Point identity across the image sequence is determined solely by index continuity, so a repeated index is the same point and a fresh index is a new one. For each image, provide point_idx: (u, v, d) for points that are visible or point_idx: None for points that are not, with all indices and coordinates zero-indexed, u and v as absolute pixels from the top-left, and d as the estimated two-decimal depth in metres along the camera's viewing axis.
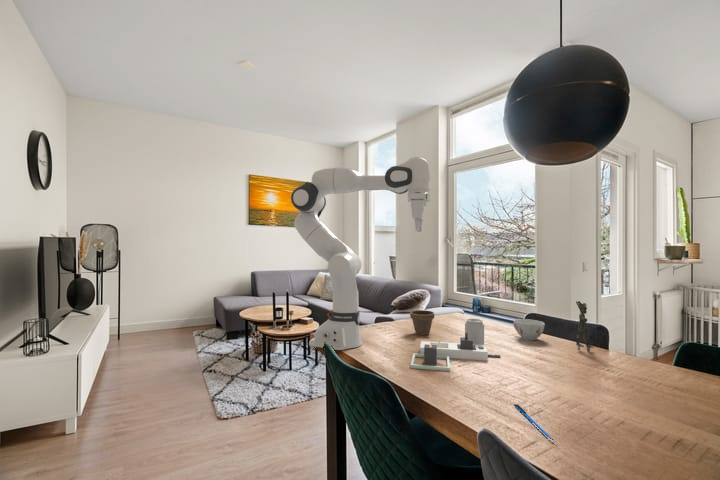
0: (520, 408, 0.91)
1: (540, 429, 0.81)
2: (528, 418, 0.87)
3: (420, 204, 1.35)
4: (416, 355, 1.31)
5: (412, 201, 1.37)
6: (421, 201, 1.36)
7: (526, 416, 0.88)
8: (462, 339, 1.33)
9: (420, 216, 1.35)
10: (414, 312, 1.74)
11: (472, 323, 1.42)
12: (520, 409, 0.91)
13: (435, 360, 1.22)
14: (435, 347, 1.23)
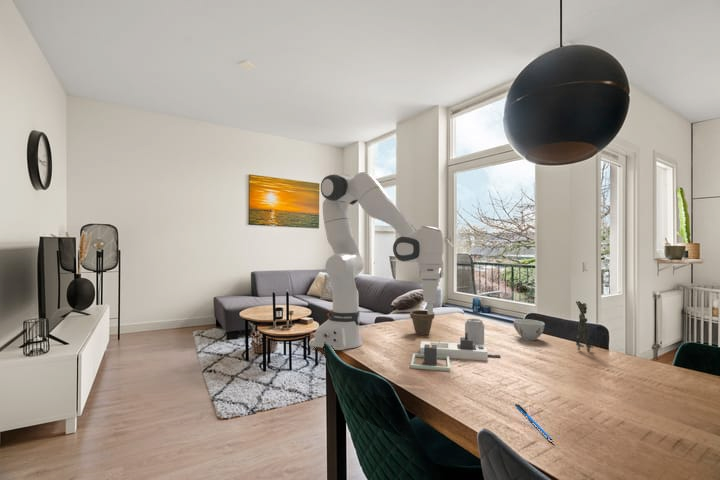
0: (521, 408, 0.91)
1: (540, 429, 0.81)
2: (528, 418, 0.87)
3: (433, 286, 1.15)
4: (416, 355, 1.31)
5: (424, 282, 1.17)
6: (434, 282, 1.16)
7: (527, 416, 0.88)
8: (462, 339, 1.33)
9: (433, 300, 1.15)
10: (414, 312, 1.74)
11: (472, 323, 1.42)
12: (521, 409, 0.91)
13: (435, 360, 1.22)
14: (435, 347, 1.23)
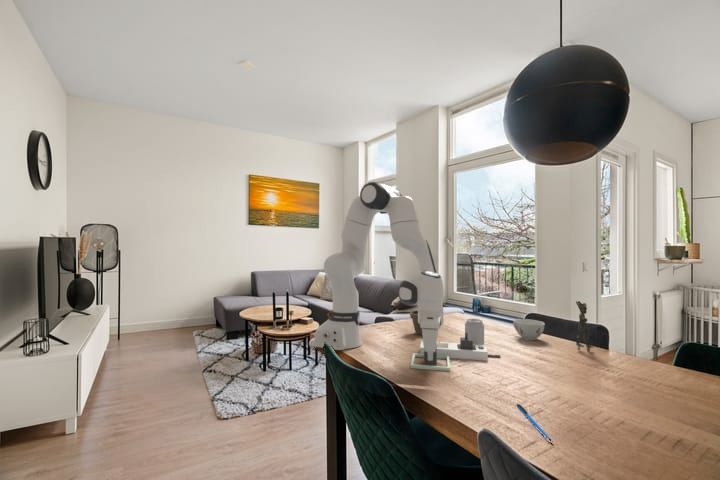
0: (522, 408, 0.91)
1: (539, 429, 0.81)
2: (529, 418, 0.87)
3: (433, 336, 1.15)
4: (416, 355, 1.31)
5: (424, 331, 1.16)
6: (434, 332, 1.16)
7: (527, 416, 0.88)
8: (462, 339, 1.33)
9: (433, 350, 1.15)
10: (414, 312, 1.74)
11: (472, 323, 1.42)
12: (522, 409, 0.91)
13: (435, 360, 1.22)
14: None
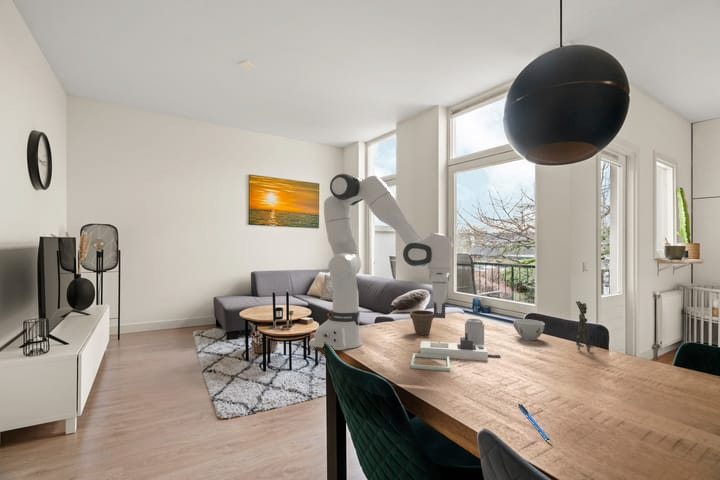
0: (523, 408, 0.91)
1: (539, 429, 0.81)
2: (529, 418, 0.87)
3: (442, 288, 1.26)
4: (416, 355, 1.31)
5: (434, 284, 1.28)
6: (443, 285, 1.27)
7: (528, 416, 0.88)
8: (462, 339, 1.33)
9: (442, 301, 1.26)
10: (414, 312, 1.74)
11: (472, 323, 1.42)
12: (523, 409, 0.91)
13: (444, 313, 1.33)
14: None
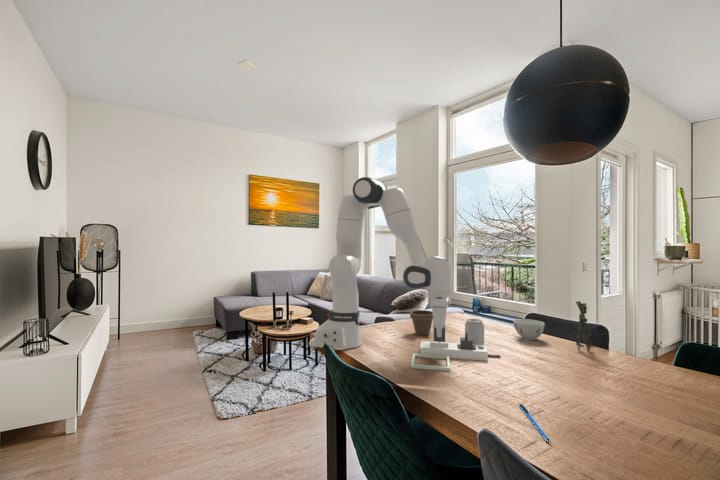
0: (524, 408, 0.91)
1: (538, 429, 0.81)
2: (529, 418, 0.87)
3: (442, 313, 1.26)
4: (416, 355, 1.31)
5: (434, 309, 1.28)
6: (443, 310, 1.27)
7: (528, 416, 0.88)
8: (462, 339, 1.33)
9: (442, 326, 1.26)
10: (414, 312, 1.74)
11: (472, 323, 1.42)
12: (524, 409, 0.91)
13: (444, 336, 1.33)
14: None
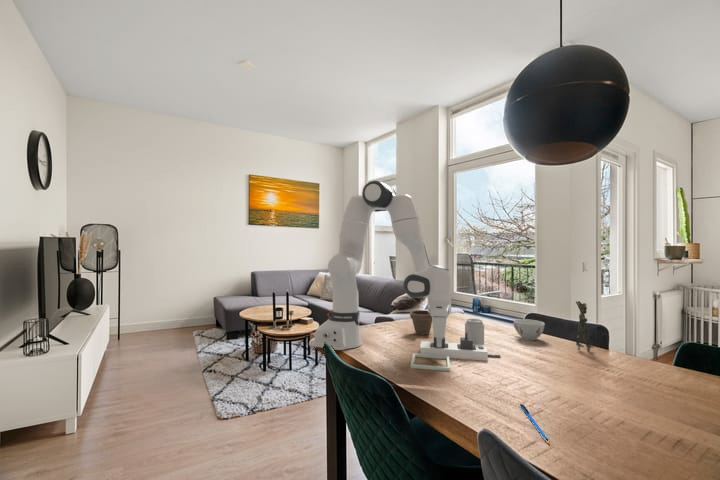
0: (524, 408, 0.91)
1: (538, 429, 0.81)
2: (530, 418, 0.87)
3: (442, 323, 1.26)
4: (416, 355, 1.31)
5: (434, 319, 1.28)
6: (443, 319, 1.27)
7: (528, 416, 0.88)
8: (462, 339, 1.33)
9: (442, 336, 1.26)
10: (414, 312, 1.74)
11: (472, 323, 1.42)
12: (524, 409, 0.91)
13: None
14: (443, 338, 1.35)
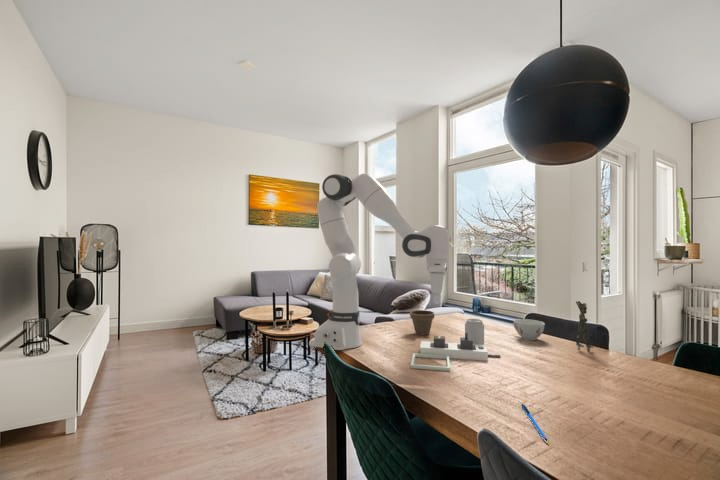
0: (525, 408, 0.91)
1: (538, 429, 0.81)
2: (530, 418, 0.87)
3: (440, 279, 1.29)
4: (416, 355, 1.31)
5: (431, 274, 1.30)
6: (441, 275, 1.29)
7: (529, 416, 0.88)
8: (462, 339, 1.33)
9: (440, 291, 1.29)
10: (414, 312, 1.74)
11: (472, 323, 1.42)
12: (525, 409, 0.91)
13: None
14: (443, 338, 1.35)
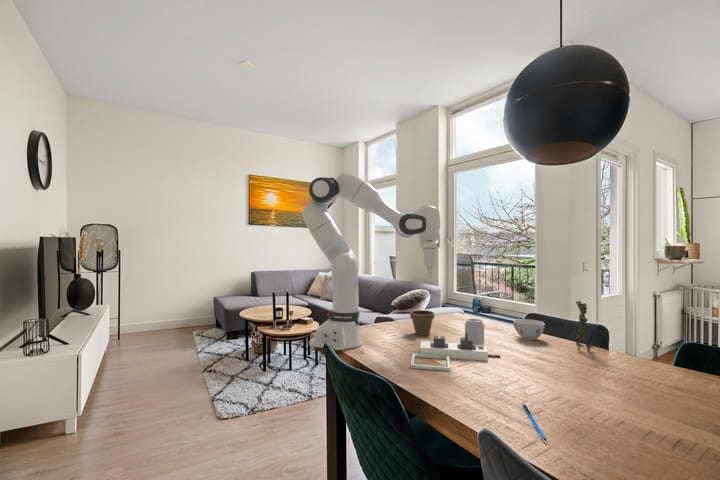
0: (526, 408, 0.91)
1: (537, 429, 0.81)
2: (530, 418, 0.87)
3: (432, 253, 1.42)
4: (416, 355, 1.31)
5: (424, 250, 1.43)
6: (433, 250, 1.42)
7: (529, 416, 0.88)
8: (462, 339, 1.33)
9: (432, 264, 1.42)
10: (414, 312, 1.74)
11: (472, 323, 1.42)
12: (526, 409, 0.91)
13: None
14: (443, 338, 1.35)
